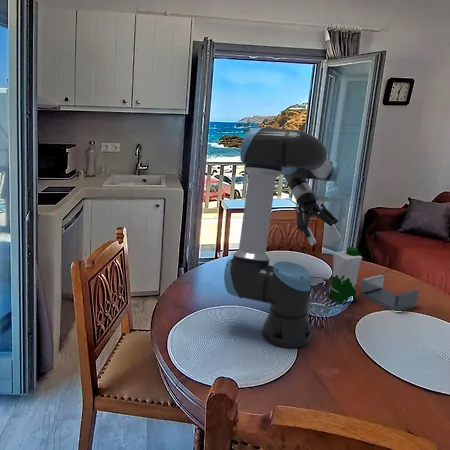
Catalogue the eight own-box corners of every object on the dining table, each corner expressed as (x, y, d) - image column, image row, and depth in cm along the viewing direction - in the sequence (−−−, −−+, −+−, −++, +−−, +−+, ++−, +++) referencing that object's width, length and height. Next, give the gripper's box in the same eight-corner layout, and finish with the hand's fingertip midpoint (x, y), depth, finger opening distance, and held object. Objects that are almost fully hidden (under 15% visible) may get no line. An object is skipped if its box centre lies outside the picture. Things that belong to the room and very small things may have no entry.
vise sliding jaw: (383, 287, 176) (385, 276, 174) (364, 292, 170) (366, 281, 169) (379, 286, 177) (381, 274, 176) (360, 291, 172) (362, 279, 170)
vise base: (415, 307, 164) (418, 291, 162) (396, 313, 158) (399, 296, 156) (378, 290, 178) (381, 275, 176) (360, 295, 172) (362, 279, 170)
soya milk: (358, 301, 166) (365, 252, 161) (339, 305, 162) (346, 254, 157) (343, 292, 174) (349, 244, 168) (325, 295, 170) (330, 246, 165)
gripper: (321, 199, 189) (343, 242, 181) (275, 204, 176) (297, 250, 168) (331, 189, 183) (354, 233, 175) (285, 193, 170) (308, 241, 162)
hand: (326, 241), depth 172 cm, fingers open, 13 cm apart
